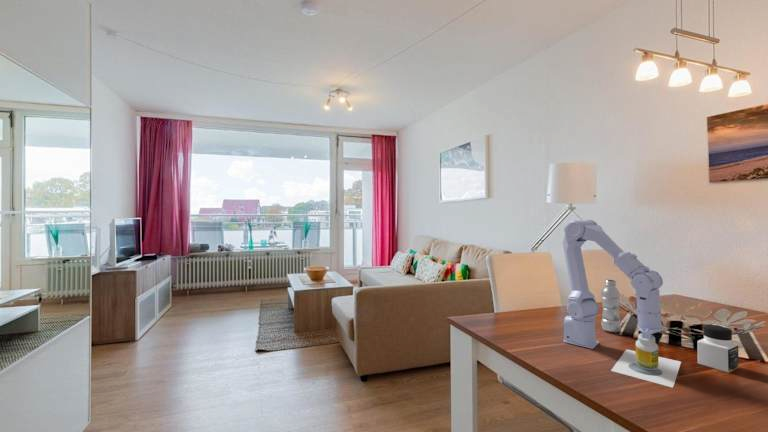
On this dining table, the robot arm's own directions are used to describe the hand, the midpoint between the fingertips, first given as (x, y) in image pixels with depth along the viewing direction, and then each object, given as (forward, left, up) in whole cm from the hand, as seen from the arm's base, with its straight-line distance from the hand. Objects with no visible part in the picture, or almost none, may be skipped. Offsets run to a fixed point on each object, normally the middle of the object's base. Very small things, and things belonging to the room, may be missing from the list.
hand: (651, 356), depth 102 cm
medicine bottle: (+14, +14, -3) cm, 20 cm away
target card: (-1, -1, -3) cm, 3 cm away
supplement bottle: (-1, -2, -2) cm, 3 cm away
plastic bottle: (-16, +27, -3) cm, 31 cm away
